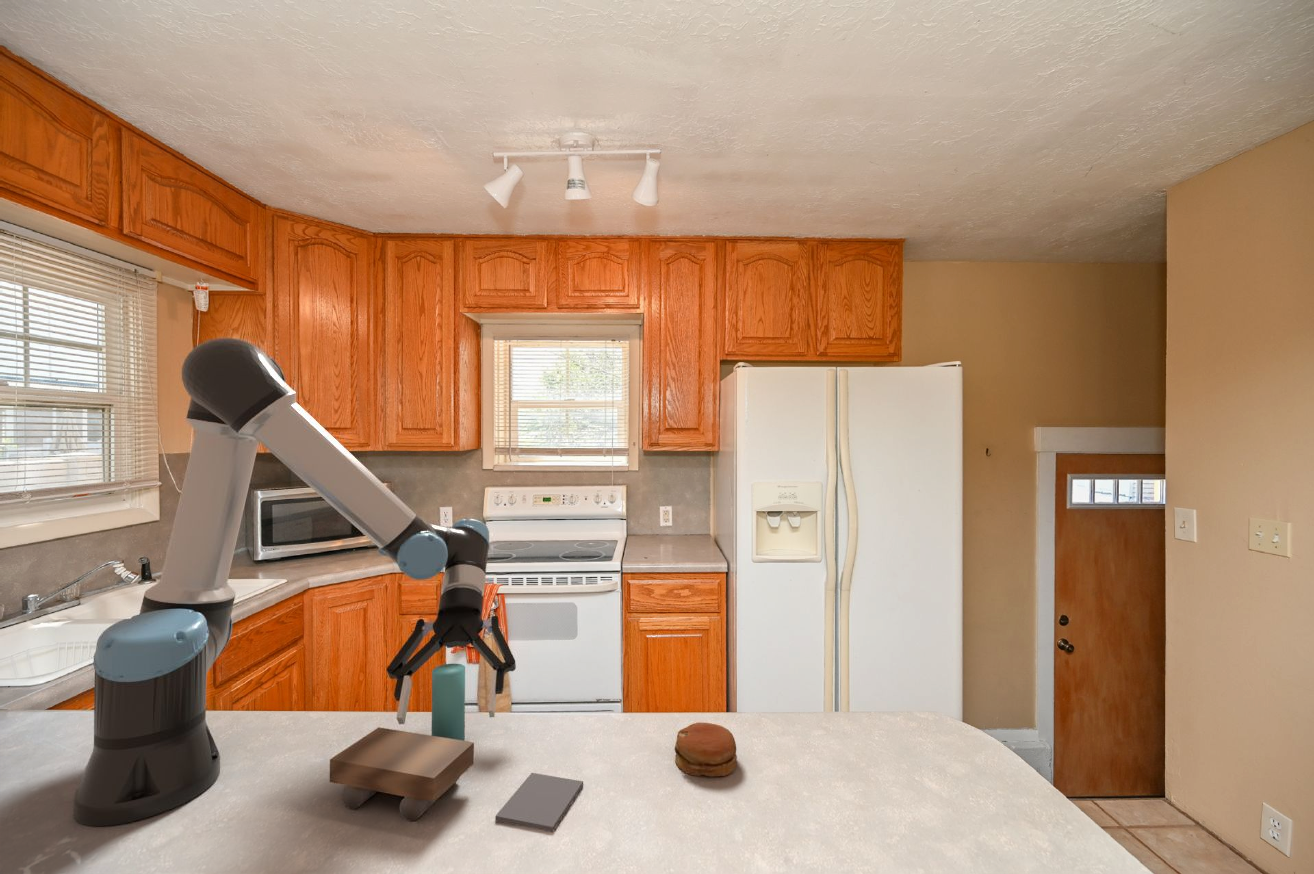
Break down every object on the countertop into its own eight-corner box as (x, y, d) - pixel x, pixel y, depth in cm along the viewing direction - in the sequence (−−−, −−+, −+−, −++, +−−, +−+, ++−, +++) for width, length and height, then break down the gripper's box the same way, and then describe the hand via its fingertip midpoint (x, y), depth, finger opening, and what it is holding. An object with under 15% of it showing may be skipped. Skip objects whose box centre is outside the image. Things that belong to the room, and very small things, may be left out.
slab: (329, 804, 76) (329, 759, 77) (378, 767, 85) (378, 727, 85) (433, 825, 72) (433, 778, 72) (473, 784, 81) (473, 742, 81)
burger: (747, 774, 85) (747, 742, 85) (689, 785, 82) (689, 752, 82) (719, 741, 94) (719, 712, 94) (666, 750, 91) (666, 721, 91)
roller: (424, 750, 90) (425, 673, 90) (444, 734, 95) (444, 662, 95) (452, 755, 89) (453, 677, 89) (470, 739, 94) (471, 665, 94)
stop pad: (495, 820, 74) (495, 815, 74) (531, 776, 83) (531, 772, 83) (552, 831, 71) (552, 826, 72) (583, 785, 81) (583, 781, 81)
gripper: (532, 603, 110) (528, 720, 95) (393, 609, 105) (366, 732, 90) (531, 582, 104) (527, 702, 90) (385, 588, 100) (355, 714, 85)
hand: (446, 717), depth 90 cm, fingers open, 13 cm apart
